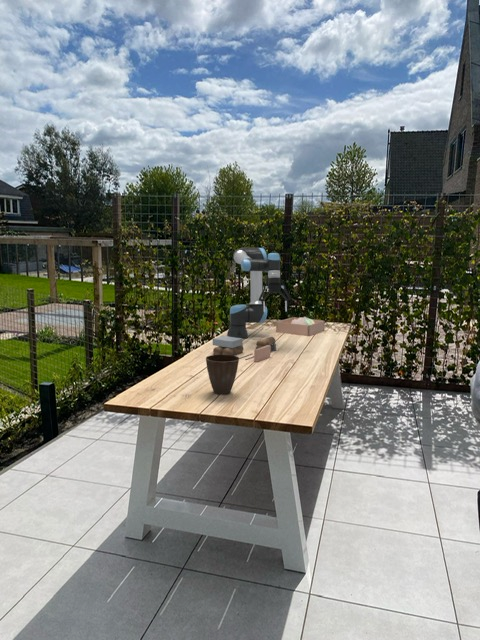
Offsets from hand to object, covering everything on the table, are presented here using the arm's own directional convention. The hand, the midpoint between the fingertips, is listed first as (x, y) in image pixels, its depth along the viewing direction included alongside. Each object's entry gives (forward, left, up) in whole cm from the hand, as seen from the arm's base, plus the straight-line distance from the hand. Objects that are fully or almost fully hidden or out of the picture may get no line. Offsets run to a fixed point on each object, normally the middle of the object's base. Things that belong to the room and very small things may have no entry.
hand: (275, 311), depth 306 cm
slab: (+23, -20, -20) cm, 36 cm away
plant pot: (+91, +21, -26) cm, 97 cm away
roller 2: (+23, -16, -26) cm, 38 cm away
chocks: (+23, -14, -25) cm, 37 cm away
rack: (+5, -3, -25) cm, 26 cm away
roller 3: (+5, -3, -22) cm, 22 cm away
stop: (+23, +4, -25) cm, 34 cm away
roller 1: (+23, -23, -26) cm, 41 cm away
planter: (-78, -17, -25) cm, 84 cm away
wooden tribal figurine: (-77, -18, -26) cm, 83 cm away
